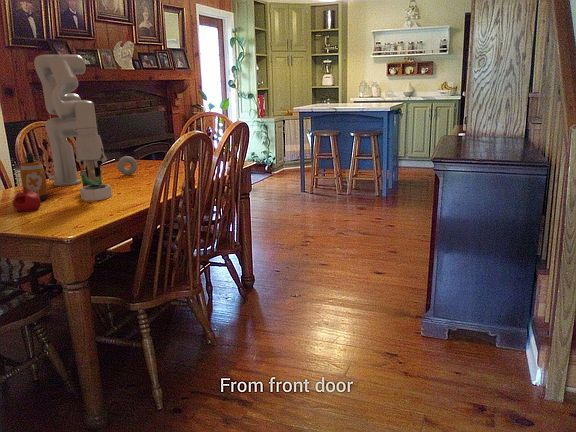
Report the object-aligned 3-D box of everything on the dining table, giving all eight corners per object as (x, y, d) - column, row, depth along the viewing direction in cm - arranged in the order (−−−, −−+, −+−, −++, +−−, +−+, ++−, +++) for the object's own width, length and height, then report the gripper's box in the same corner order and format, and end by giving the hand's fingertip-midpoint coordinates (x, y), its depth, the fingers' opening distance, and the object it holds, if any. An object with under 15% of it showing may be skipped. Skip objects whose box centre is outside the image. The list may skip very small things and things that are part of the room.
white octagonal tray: (77, 200, 204) (75, 190, 202) (90, 194, 215) (89, 184, 213) (103, 200, 202) (101, 189, 201) (115, 194, 213) (114, 184, 212)
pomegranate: (35, 205, 198) (31, 182, 196) (46, 208, 192) (43, 185, 189) (9, 210, 191) (4, 187, 188) (20, 214, 185) (16, 190, 182)
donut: (138, 173, 261) (136, 155, 259) (138, 174, 258) (136, 155, 256) (118, 175, 258) (116, 156, 256) (118, 176, 255) (116, 157, 252)
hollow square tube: (86, 197, 206) (85, 187, 205) (93, 194, 211) (92, 184, 210) (99, 197, 205) (98, 187, 204) (105, 194, 211) (104, 184, 210)
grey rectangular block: (89, 180, 205) (86, 159, 203) (92, 179, 208) (89, 158, 206) (95, 180, 205) (93, 159, 202) (99, 179, 208) (96, 158, 205)
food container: (95, 193, 216) (92, 171, 214) (82, 193, 217) (79, 171, 215) (110, 187, 228) (107, 166, 225) (98, 187, 229) (95, 166, 226)
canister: (25, 203, 202) (16, 154, 196) (25, 198, 211) (16, 151, 206) (49, 200, 206) (41, 152, 200) (48, 195, 215) (40, 149, 210)
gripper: (63, 133, 199) (70, 178, 203) (102, 132, 197) (108, 178, 202) (73, 131, 206) (79, 175, 211) (111, 130, 204) (116, 174, 209)
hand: (93, 176), depth 206 cm, fingers closed on grey rectangular block, 3 cm apart
